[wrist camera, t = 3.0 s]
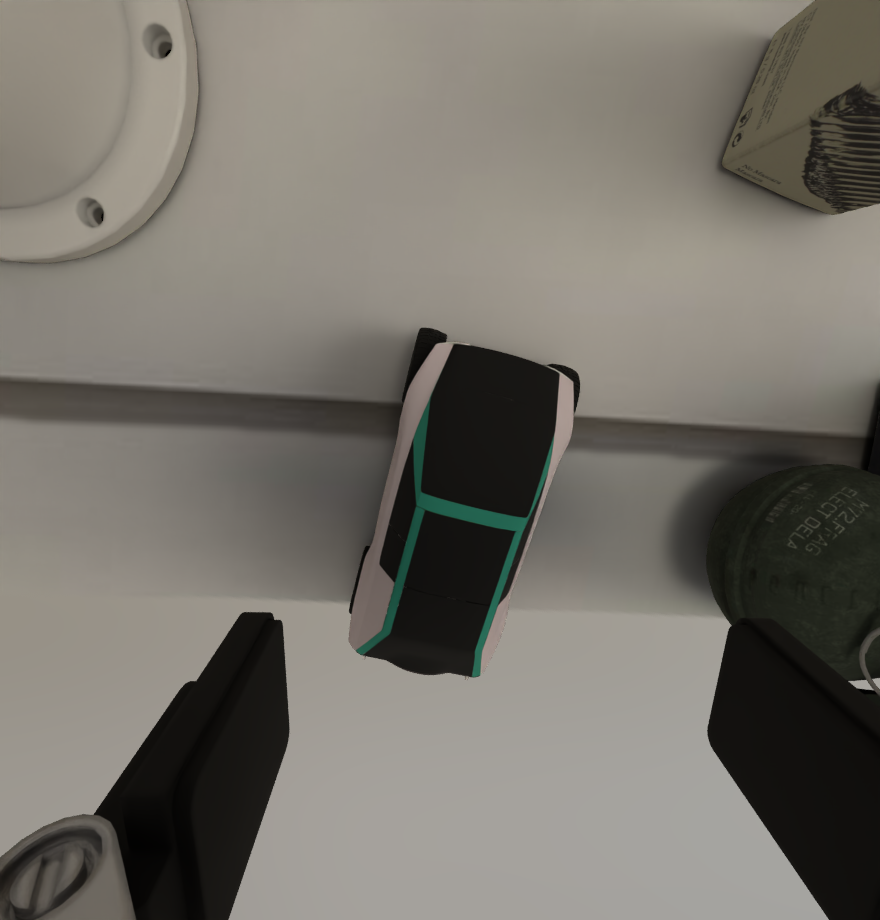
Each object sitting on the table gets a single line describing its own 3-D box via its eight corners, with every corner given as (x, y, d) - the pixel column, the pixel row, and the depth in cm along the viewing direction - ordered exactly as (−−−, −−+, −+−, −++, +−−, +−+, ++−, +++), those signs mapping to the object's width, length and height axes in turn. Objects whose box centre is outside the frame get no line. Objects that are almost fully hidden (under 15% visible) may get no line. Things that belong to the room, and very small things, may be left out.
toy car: (352, 596, 21) (330, 684, 16) (419, 325, 18) (420, 326, 13) (478, 623, 22) (496, 716, 17) (565, 366, 19) (620, 382, 14)
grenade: (676, 457, 20) (961, 490, 10) (840, 457, 21) (1247, 487, 11) (667, 646, 21) (929, 849, 11) (827, 638, 22) (1202, 818, 12)
